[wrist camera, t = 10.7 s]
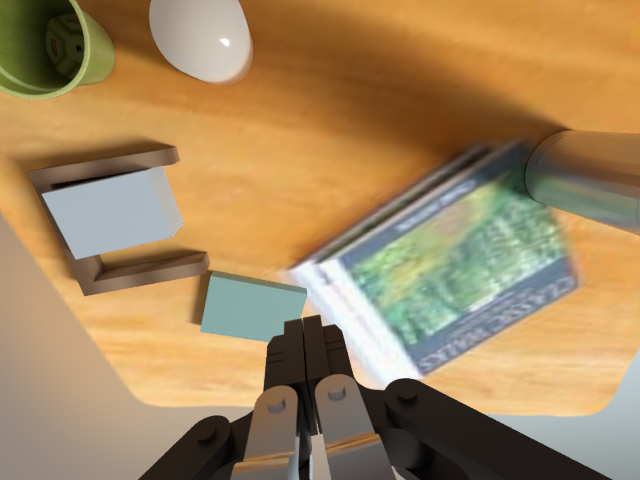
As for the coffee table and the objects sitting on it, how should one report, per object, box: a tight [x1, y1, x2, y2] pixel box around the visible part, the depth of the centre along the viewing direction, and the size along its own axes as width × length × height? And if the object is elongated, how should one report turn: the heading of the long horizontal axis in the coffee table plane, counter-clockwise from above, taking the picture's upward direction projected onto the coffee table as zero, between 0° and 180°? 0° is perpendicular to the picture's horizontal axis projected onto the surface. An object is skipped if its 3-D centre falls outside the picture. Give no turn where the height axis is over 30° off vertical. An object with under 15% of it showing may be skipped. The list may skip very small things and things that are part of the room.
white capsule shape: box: [149, 0, 254, 87], centre depth 29 cm, size 7×7×9 cm
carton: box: [42, 166, 184, 259], centre depth 36 cm, size 10×7×5 cm
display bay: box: [28, 147, 210, 296], centre depth 37 cm, size 14×14×3 cm
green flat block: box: [200, 271, 307, 342], centre depth 44 cm, size 12×8×2 cm, turn 75°
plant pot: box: [0, 0, 115, 100], centre depth 28 cm, size 9×9×9 cm
